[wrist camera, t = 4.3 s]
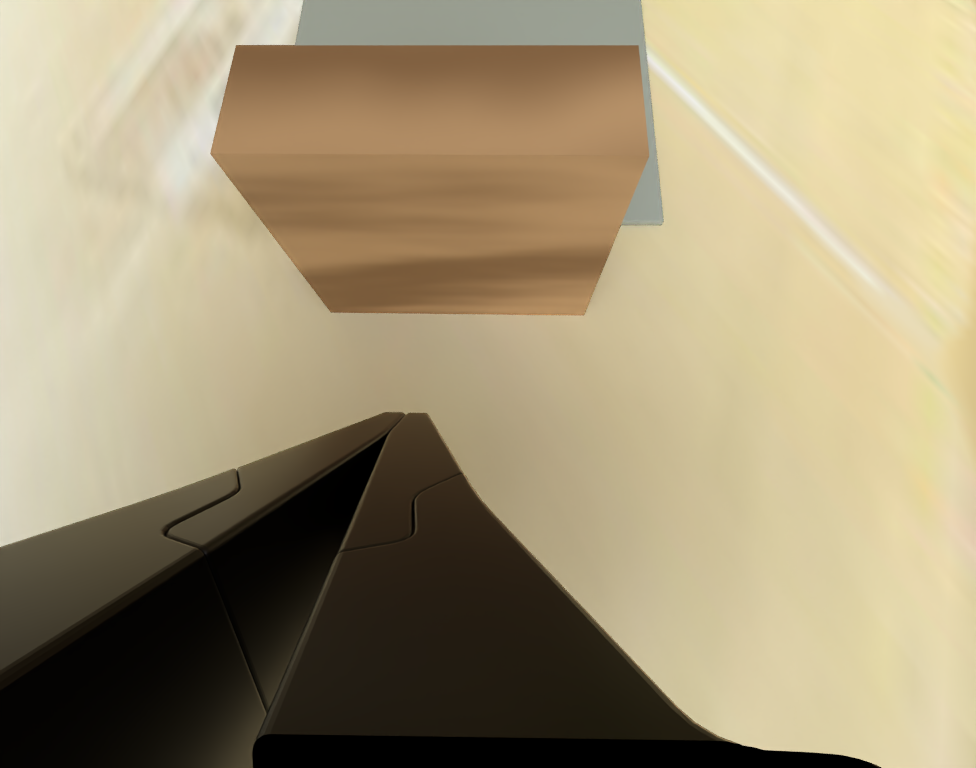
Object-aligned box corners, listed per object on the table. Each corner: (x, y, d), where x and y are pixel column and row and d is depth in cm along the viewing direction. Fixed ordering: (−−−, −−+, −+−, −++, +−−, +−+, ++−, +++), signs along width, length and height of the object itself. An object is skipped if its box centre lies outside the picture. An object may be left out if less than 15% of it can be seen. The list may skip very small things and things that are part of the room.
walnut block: (583, 315, 22) (649, 155, 13) (331, 312, 23) (210, 153, 13) (580, 236, 24) (637, 36, 14) (341, 234, 24) (238, 36, 14)
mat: (661, 224, 24) (663, 221, 23) (265, 221, 24) (262, 218, 24) (638, -5, 28) (639, -10, 28) (307, -4, 29) (305, -9, 28)
